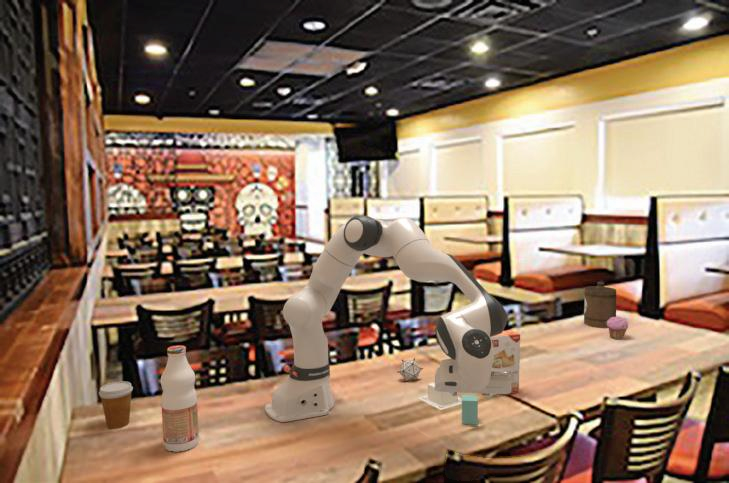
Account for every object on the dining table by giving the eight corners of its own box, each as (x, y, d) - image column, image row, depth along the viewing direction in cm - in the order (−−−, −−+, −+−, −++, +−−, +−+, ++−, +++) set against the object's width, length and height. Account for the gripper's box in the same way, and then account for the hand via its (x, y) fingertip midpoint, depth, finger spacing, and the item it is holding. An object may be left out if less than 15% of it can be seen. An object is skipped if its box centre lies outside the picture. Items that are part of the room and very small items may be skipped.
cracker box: (483, 397, 183) (483, 337, 181) (474, 391, 189) (475, 332, 187) (520, 393, 187) (520, 333, 184) (510, 386, 192) (511, 329, 190)
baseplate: (440, 412, 172) (440, 409, 172) (417, 400, 182) (417, 397, 182) (468, 403, 178) (468, 400, 178) (444, 392, 188) (444, 389, 188)
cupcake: (602, 336, 253) (602, 315, 252) (617, 334, 256) (618, 314, 255) (616, 341, 245) (617, 319, 244) (632, 339, 247) (632, 318, 246)
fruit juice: (174, 456, 146) (168, 355, 143) (157, 445, 153) (152, 348, 150) (205, 444, 153) (200, 347, 150) (188, 434, 160) (183, 340, 157)
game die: (414, 392, 199) (421, 376, 192) (392, 382, 200) (398, 366, 194) (420, 373, 206) (427, 357, 199) (399, 364, 207) (405, 348, 200)
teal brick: (477, 427, 161) (477, 401, 160) (462, 426, 162) (462, 400, 161) (476, 420, 165) (476, 395, 165) (461, 420, 166) (461, 394, 165)
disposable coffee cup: (125, 415, 174) (123, 378, 173) (140, 422, 168) (138, 385, 167) (95, 425, 167) (92, 387, 165) (110, 434, 160) (107, 394, 159)
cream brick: (441, 405, 175) (441, 390, 175) (427, 398, 181) (427, 384, 180) (458, 400, 179) (458, 386, 178) (444, 394, 185) (444, 379, 184)
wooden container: (592, 319, 286) (593, 277, 284) (621, 324, 275) (622, 281, 272) (578, 324, 276) (579, 281, 274) (607, 329, 265) (608, 285, 263)
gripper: (514, 362, 141) (509, 385, 151) (434, 359, 144) (435, 382, 154) (516, 385, 137) (510, 406, 147) (434, 382, 140) (434, 403, 150)
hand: (471, 394), depth 151 cm, fingers open, 8 cm apart
